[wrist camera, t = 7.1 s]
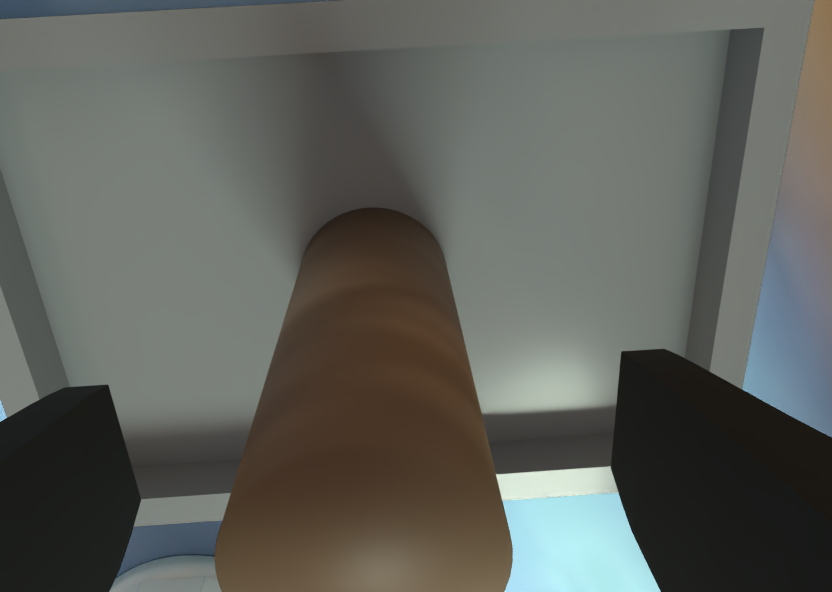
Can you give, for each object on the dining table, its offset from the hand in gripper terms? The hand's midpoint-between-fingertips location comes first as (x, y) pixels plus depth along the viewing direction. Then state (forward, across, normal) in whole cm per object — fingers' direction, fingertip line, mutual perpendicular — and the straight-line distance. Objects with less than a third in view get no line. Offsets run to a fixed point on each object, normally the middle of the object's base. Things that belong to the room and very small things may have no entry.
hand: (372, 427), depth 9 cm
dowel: (+6, 0, 0) cm, 6 cm away
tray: (+6, 0, 0) cm, 6 cm away
